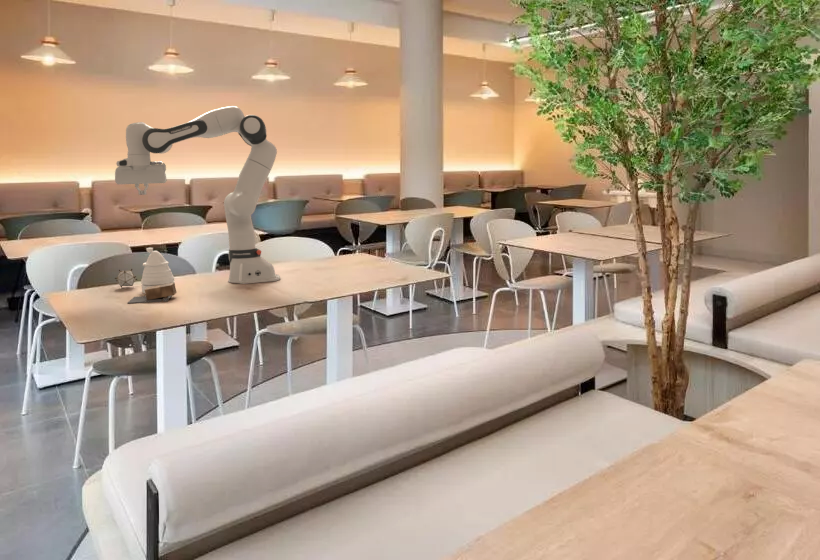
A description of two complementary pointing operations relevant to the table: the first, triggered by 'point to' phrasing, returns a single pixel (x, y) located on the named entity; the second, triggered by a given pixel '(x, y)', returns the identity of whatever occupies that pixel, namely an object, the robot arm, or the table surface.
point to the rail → (166, 298)
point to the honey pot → (156, 271)
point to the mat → (144, 300)
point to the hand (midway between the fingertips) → (142, 194)
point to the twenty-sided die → (126, 278)
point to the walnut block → (160, 291)
